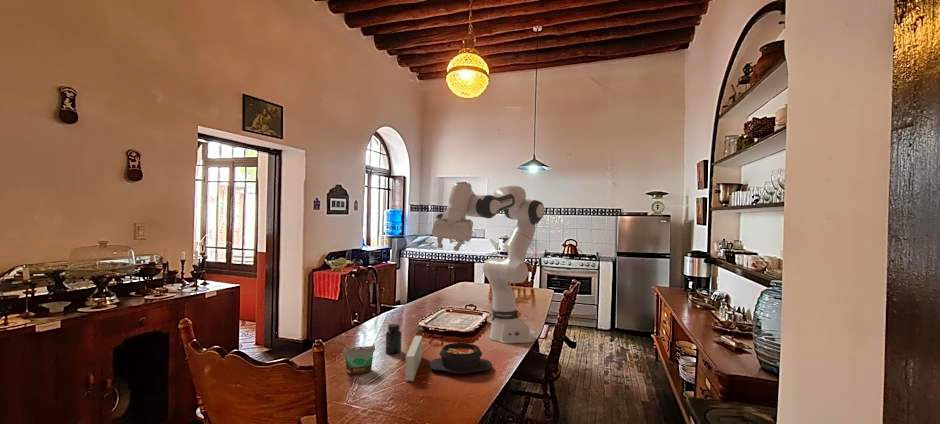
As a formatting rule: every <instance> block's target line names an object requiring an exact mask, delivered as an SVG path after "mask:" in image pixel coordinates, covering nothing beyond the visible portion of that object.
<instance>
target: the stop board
mask: <svg viewBox="0 0 940 424" xmlns="http://www.w3.org/2000/svg"><path fill="white" fill-rule="evenodd" d="M422 353H423V335H414V338H412V342H411V344H410V346H409V349H408V351H407V352H406V355H405V374H404V377H405V379H404V380H405V382H407V381H409V382H414V380H415V378H416V375H417V371H418V369H419V366H420V363H421V360H422V357H423V354H422Z"/></svg>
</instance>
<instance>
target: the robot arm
mask: <svg viewBox="0 0 940 424" xmlns="http://www.w3.org/2000/svg"><path fill="white" fill-rule="evenodd" d="M526 198H527V193H526V190H525V189H524V188H523V187H521V186H519V185H507V186H502V187H500V188H497V189H496V190H495V191H494V193H493V194H486V195H484V194H483V195H482V194H481V195H480V194H479V195H477V194H475V192H474V191H473V188H472V184H471V183H468V182H463V181H462V182H459V181H458V182H455V183H454V184H453V186H452V187H451V191H450V193H449V198H448V206H447V207H446V210H445V211H443V212H439V213H437V214H436V215H435V219H436V220H435V221H434V223H433V225H432V230H431V236H432V237H435V238H436V240H437V248H438V249H443V246H444V244H443V243H442V242H443V240H444V239H447V240H454V241H457V244H456V245H454V246H453V251H454V252H459V250H460V248H461V247H462V245H463V243H464V242H468V243H470V241H471V240H472V235H473V225H474V222H473V220H471V219H470V218H469V219H467V217H474V218H483V219H492V218H494V217H495V216H496V215H497V214H498V213H499V212H502V211H503V213H504V216H505V217H506V218H507V219H511V220H516V221H517V223H516V225H515V227H514V228H513V230H512V232H511V233H510V234H509V238H508V239H507V240H506V243H505V244H504V248H505V251H506V253H507V257H506V258H499V257H493V258H488V259H486V260H485V261H484V262H483V265H482V273H483V274H484V276H485V277H486V278H487V280H488V282H489V284H490V288H491V292H492V310H491V320H492V321H491V328H490V333H489V334H488V335H489V336H488V337H489V339H490V340H492V341H496V342H499V343H501V344H520V343H521V344H523V343H534V342H535V341H536V337H535V335H534V334H533V333H531V329H530V327H529V324H528V323H526V321H524V320H523V319H521V316H522V313H521V312H520V310H518V309H516V293H515V292H514V290H513V289H512V288H511V286H510V284H511V283H512V284H520V283H523V282H525V281H526V280H527V278H528V275H529V269H528V265H527V264H526V262H525V261H526V260H525V258H526V254H527V252H528V250H529V248H530V245H531V243H532V241H533V238H534V236H535V233H536V228H537V227H536V225H537V224H538V223H539V222H540V221H542V219H543V217H544V215H545V206H544V203H543V202H541V201H539V200H537V199H529V198H528V199H526ZM509 283H510V284H509Z"/></svg>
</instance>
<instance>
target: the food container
mask: <svg viewBox="0 0 940 424" xmlns="http://www.w3.org/2000/svg"><path fill="white" fill-rule="evenodd" d="M374 352H376V347H375V344H374V343H373V344H372V345H370V346H369V345H368V346H356V347H352V348H346V347H345V346H344V348H343V350H342V353H343V354H344V359H345V360H344V361H345V370H346V374H347V375H349V376H353V377H357V376H359V377H360V376H365V375H369V374H370V373H371V372H372V367H373V360H374V359H373V357H374Z"/></svg>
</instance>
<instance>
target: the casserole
mask: <svg viewBox="0 0 940 424" xmlns="http://www.w3.org/2000/svg"><path fill="white" fill-rule="evenodd" d="M439 356H440V357H439V358H437V357H436V358H434V359H432V360H431V361H430V362H429V364H428V365H429V367H430V369H432V370H435V371H440V372H441V371H442V372H447V373H451V374H454V375H455V374H456V375H465V374H466V375H467V374H471V373H476V372H483V371H489V370H490V369H492V367H493V364H492V361H490V360H489V359H484V358H481V357H482V356H483V352H482V351H481V348H480V347H479V346H478V345H476V344H473V343H467V342H452V343H448V344H445V345H443V346H442V348H441V350H440V352H439Z"/></svg>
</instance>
